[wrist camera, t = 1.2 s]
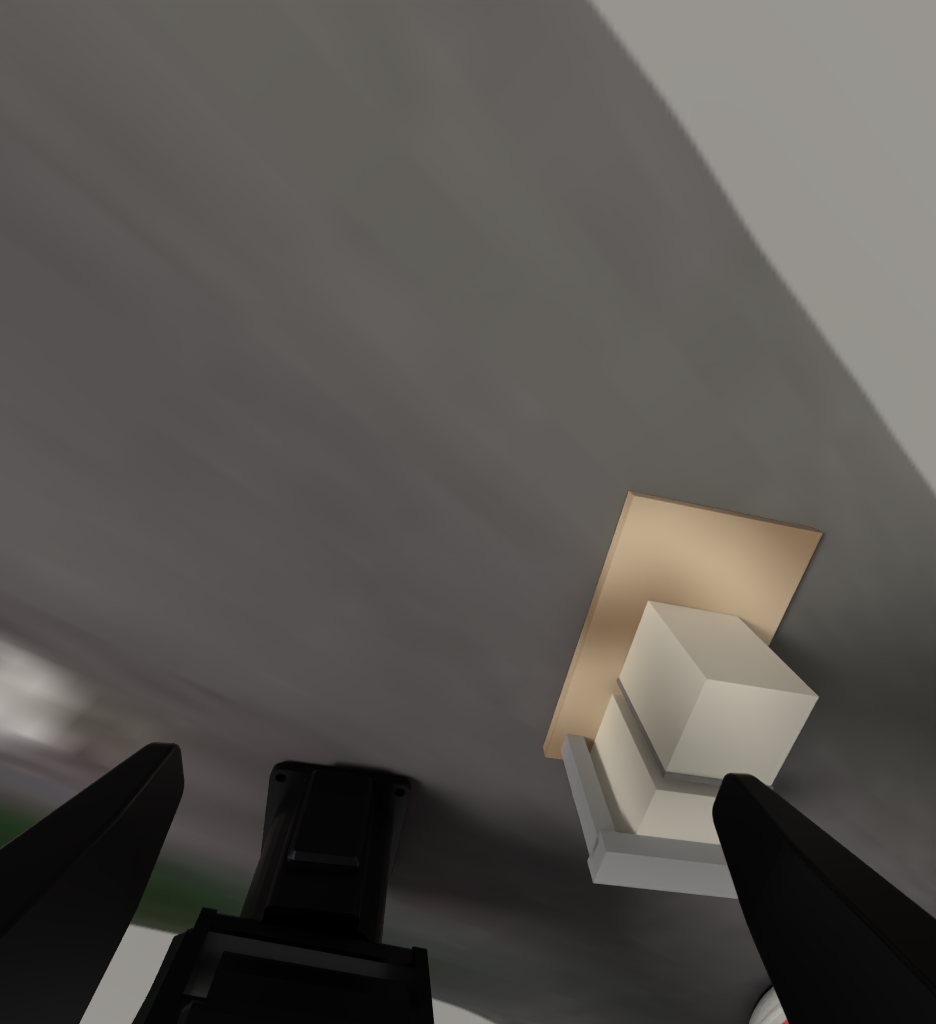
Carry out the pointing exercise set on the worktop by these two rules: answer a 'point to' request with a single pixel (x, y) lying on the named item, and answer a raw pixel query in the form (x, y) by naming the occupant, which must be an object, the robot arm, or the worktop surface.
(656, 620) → the stub
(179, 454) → the worktop surface
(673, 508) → the board
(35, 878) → the robot arm
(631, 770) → the bracketed cream block
